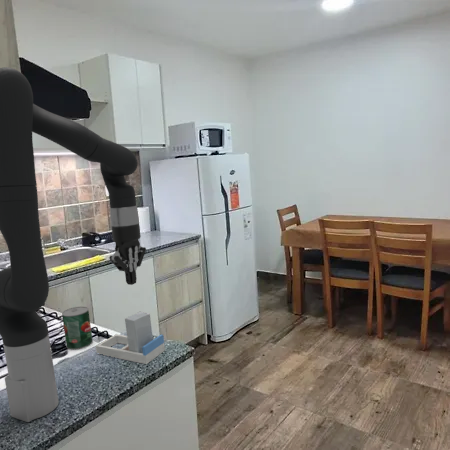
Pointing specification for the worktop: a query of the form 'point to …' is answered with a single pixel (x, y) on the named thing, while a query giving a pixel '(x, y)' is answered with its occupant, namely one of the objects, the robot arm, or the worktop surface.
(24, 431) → the worktop surface
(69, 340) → the canned tomato
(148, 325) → the skincare box
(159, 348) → the two-compartment tray
